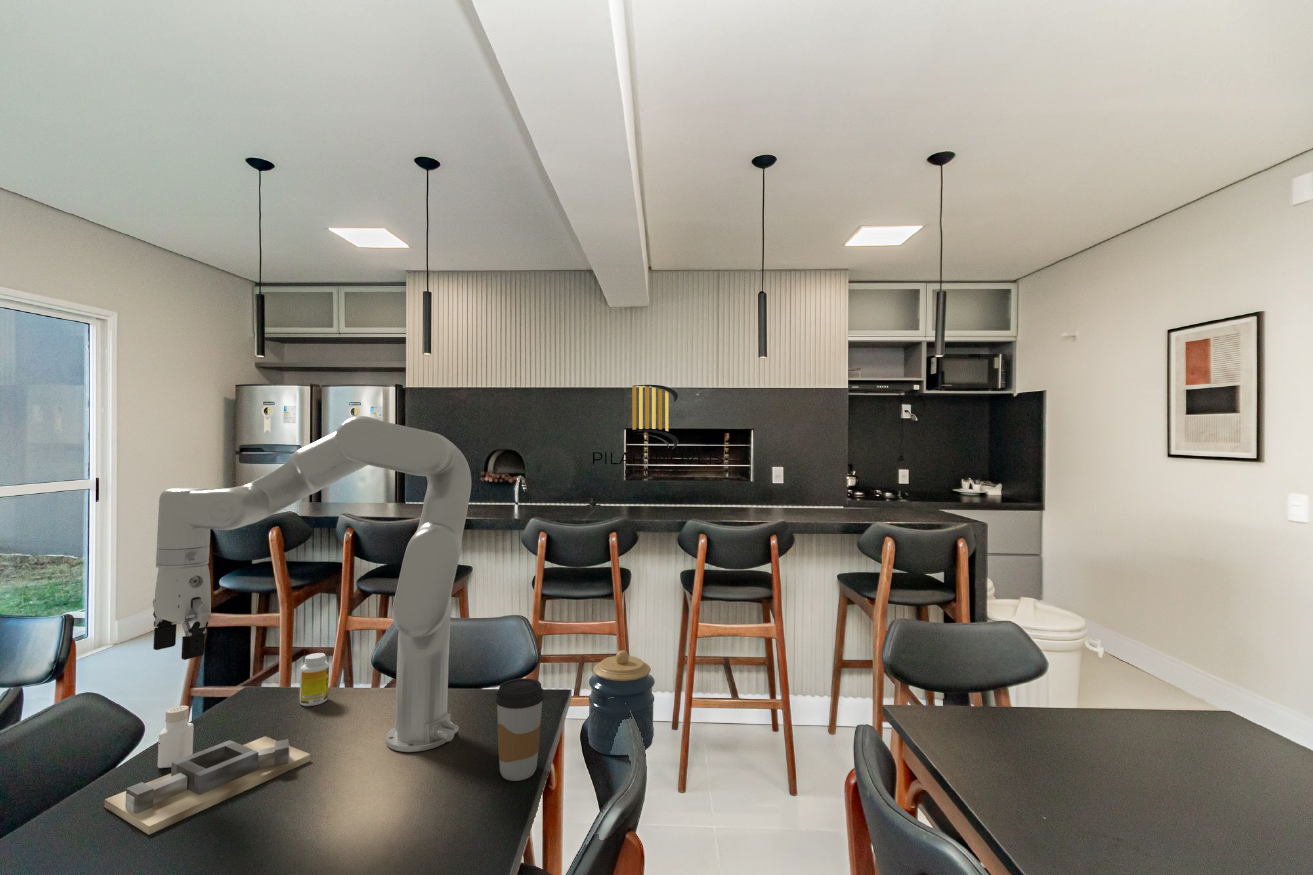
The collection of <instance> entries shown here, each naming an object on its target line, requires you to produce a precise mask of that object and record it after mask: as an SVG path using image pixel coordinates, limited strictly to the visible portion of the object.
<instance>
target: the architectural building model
mask: <svg viewBox="0 0 1313 875" xmlns="http://www.w3.org/2000/svg"><path fill="white" fill-rule="evenodd" d="M308 762H311V753H308V752H306V751H304V750H301V749H298V748H295V747H293V746H290V743H289V738H286V739H281V740H276V739H273V738H271V737H268V736H266V735H264V736H262V737H259V738H257V739H255V740H253V741H250V742H248V743H244V744H241V743H238V742H235V741H233V740H231V739H229V740H227V741H223V742H222V743H221V742H220V743H219V744H218V743H217V744H216V745H214V746H211V747H208V748H205V749H203V750H200V751H197V752H195V753H194V752H193V754H192V755H189V756H187V757H184V758H181V759H179V760H176V761H173V762H172V767H170V768H171V770H170V771H171V772H170V773H168V774H166V775H163V776H161V777H158V778H155V779H153V780H150V781H148V782H146V783H145V782H143V781H141V782H138V783H136V784H133V785H130V786H129V787H126V788H125V791H122V792H120V793H117V794H115V795H112V796H110V797H107V798H105V799H104V804H103V805H104V808H105V809H106V810H108V811H110V812H111V813H112V814H114V815H116V816H118V817H119V818H121V819H123V821H126V822H127V823H129V824H130V825H132V826H134V827H136V829H139V830H140V831H141V832H142V833H145V834H147V835H148V836H149V835H151V834H154V833H156V832H158V831H161V830H163V829H165V828H167V827H170V826H171V825H174V824H176V823H177V822H180V821H183V820H184V819H187V818H188V817H191V816H193V815H195V814H197V813H199V812H202V811H205V810H206V809H209V808H211V807H212V806H215V805H218V804H220V803H221V802H224V801H225V800H228V799H230V798H232V797H234V796H236V795H239V794H242V793H244V792H245V791H247V790H250V789H252V788H254V787H256V786H258V785H261V784H263V783H266V782H267V781H269V780H272V779H274V778H277V777H278V776H280V775H283V774H285V773H286V772H289V771H291V770H294V769H295V768H298V767H300V766H302V765H304V764H307V763H308Z"/></svg>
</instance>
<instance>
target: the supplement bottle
mask: <svg viewBox="0 0 1313 875" xmlns="http://www.w3.org/2000/svg"><path fill="white" fill-rule="evenodd" d="M326 660H327V659H326V654H325V653H324V652H316V653H310V654H307V655H306V656H305V658H304V664H303V665H302V666H301V667H300V672H299V673H300V674H299V677H300V678H299V704H300V705H301V706H304V707H313V706H317V705H321V704H324V703H325V702H326V701H327V700H328V698H329V681H330V680H329V679H330V678H329V676H330V664H329V663H330V662H327V661H326Z"/></svg>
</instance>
